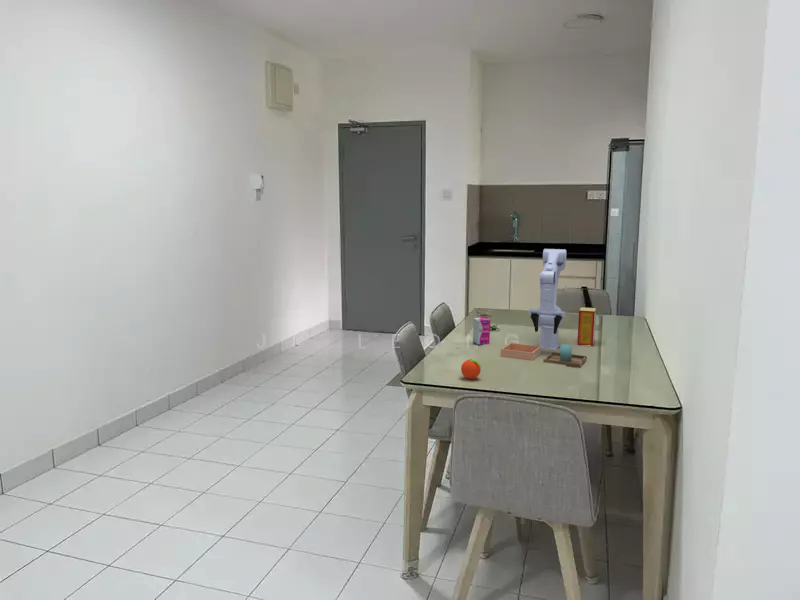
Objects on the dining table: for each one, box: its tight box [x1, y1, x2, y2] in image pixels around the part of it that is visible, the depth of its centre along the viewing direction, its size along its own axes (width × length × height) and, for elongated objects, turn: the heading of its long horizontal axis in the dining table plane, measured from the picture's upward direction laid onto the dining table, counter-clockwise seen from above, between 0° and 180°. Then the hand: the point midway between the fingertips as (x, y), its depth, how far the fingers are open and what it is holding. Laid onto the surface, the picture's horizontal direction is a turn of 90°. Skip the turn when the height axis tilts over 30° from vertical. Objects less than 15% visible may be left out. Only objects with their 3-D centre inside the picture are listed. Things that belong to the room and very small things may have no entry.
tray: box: [542, 351, 588, 368], centre depth 242 cm, size 14×14×2 cm
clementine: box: [460, 358, 482, 380], centre depth 216 cm, size 8×7×7 cm
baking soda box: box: [576, 306, 597, 347], centre depth 273 cm, size 10×6×16 cm
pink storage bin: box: [500, 342, 542, 361], centre depth 250 cm, size 13×13×4 cm
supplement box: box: [472, 317, 491, 346], centre depth 271 cm, size 6×6×12 cm
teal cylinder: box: [559, 343, 573, 362], centre depth 241 cm, size 4×4×6 cm
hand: (545, 332), depth 251 cm, fingers open, 7 cm apart
